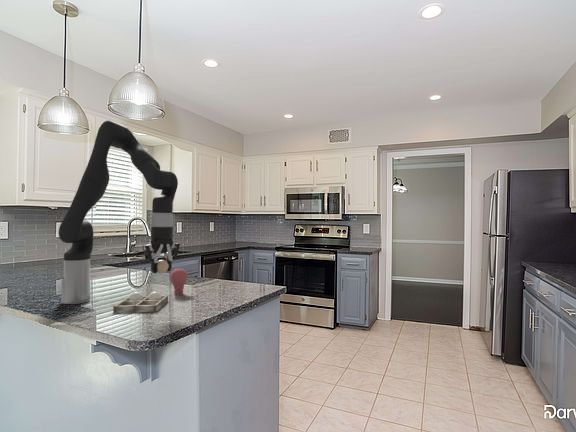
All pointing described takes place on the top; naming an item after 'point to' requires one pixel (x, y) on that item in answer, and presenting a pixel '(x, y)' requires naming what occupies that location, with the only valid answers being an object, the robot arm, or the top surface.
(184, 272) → the light bulb
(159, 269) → the beige ball
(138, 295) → the white egg back left
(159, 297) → the white egg back right
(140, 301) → the divided tray
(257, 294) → the top surface
